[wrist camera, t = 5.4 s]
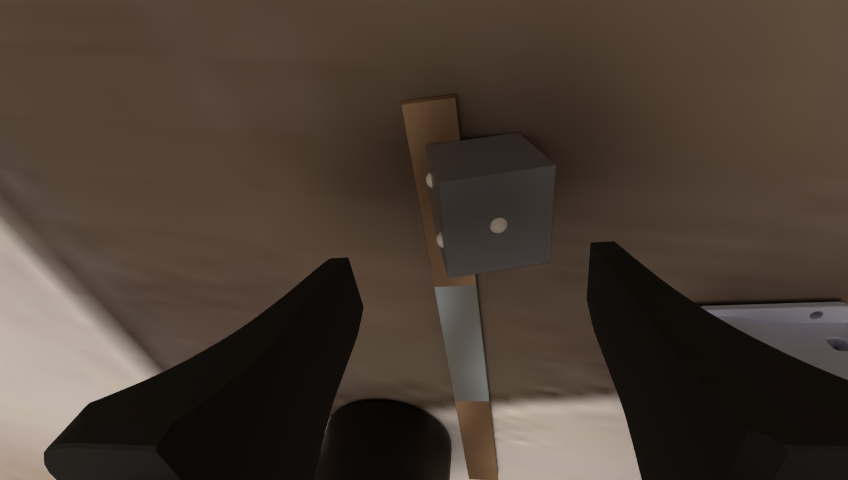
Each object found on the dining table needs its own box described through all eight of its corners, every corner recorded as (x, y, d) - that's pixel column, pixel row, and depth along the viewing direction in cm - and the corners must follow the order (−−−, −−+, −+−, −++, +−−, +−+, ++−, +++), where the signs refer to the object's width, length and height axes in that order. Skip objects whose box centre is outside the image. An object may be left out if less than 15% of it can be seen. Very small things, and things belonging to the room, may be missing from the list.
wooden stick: (456, 94, 16) (455, 97, 16) (497, 472, 31) (498, 480, 31) (403, 100, 17) (401, 104, 16) (469, 471, 32) (469, 478, 31)
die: (518, 132, 17) (558, 166, 13) (517, 215, 19) (552, 265, 15) (419, 146, 17) (434, 185, 13) (429, 229, 19) (444, 282, 15)
